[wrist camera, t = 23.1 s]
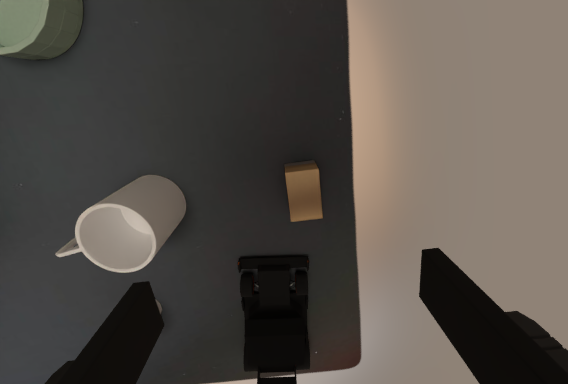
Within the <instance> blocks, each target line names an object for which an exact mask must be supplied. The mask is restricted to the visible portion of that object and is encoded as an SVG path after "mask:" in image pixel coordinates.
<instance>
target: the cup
mask: <svg viewBox="0 0 568 384" xmlns="http://www.w3.org/2000/svg"><path fill="white" fill-rule="evenodd" d="M185 212H186V200H185V197H184V195H183V193H182V191H181V190H180V188H179V187H178V186H177V185H176V184H175V183H173V182H172V181H171V180H169V179H167V178H165V177H162V176H158V175H146V176H142V177H140V178H137V179H136V180H134V181H132V182H131V183H129V184H128V185H126V186H124V187H123V188H121V189H119V190H118V191H116V192H114V193H113V194H111V195H110V196H108V197H106V198H105V199H103V200H101V201H100V202H98V203H96V204H95V205H93V206H92V207H90V208H88V209H87V210H86V211H84V212H83V213H82V214H81V216H80V217H79V219H78V221H77V223H76V228H75V236H76V237H75V238H74V239H72V240H71V241H70V242H68V243H67V244H66V245H65V246H64V247H62V248H61V249H60V250H59V251H58V252H56V253H55V254H56V255H57V257H63V256H66V255H70V254H74V253H77V252H81V251H82V252H83V253H84V255H85V256H86V257H87V258H88V259H89V260H90V261H92V262H93V263H95V264H96V265H98V266H100V267H102V268H104V269H106V270H110V271H113V272H120V273H127V272H133V271H136V270H139V269H141V268H143V267H145V266H146V265H147V264H148V263H149V262H150V261H151V260H152V259H153V257H154V256H155V255H156V253H157V252H158V251H159V249H160V248H161V247H162V245H163V244H164V243H165V241H166V240H167V239H168V237H169V236H170V235H171V233H172V232H173V231H174V229H175V228H176V227H177V226H178V224H179V223H180V222H181V220H182V219H183V217H184V215H185ZM76 243H78V246H76V247H73V246H74V245H75V244H76ZM72 247H73V248H72Z"/></svg>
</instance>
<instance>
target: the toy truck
mask: <svg viewBox="0 0 568 384" xmlns="http://www.w3.org/2000/svg"><path fill="white" fill-rule="evenodd" d="M298 267H307V271H308V269H309V260H308V256H305V257H272V258H239V261H238V270H239V273H240V272H241V269H258V281H257V282H258V285H256V284H255V285H256V286H257V287H259V293H258V294H253V292H254V287H255V286H254V277H253V274H242V275H241V281H240V293H241V297H242V301H241V303H242V308H243V311H244V315H245V346H244V371H245V372H246V371H258V378H257V384H297V382H296V370H304V369H310V350H309V342H308V332H307V309H308V296H307V294H308V280H307V273H306V272H296V273H295V281H293V282H294V283H295V287H296V292H290V289H291V288H290V286H291V285H293V284H294V283H292V284H290V275H289V268H298ZM291 281H292V280H291ZM255 283H256V282H255ZM293 288H294V287H293ZM255 289H256V288H255ZM257 290H258V289H257ZM305 336H306V338H305ZM267 372H295V377H273V378H260V373H267Z"/></svg>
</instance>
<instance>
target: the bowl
mask: <svg viewBox="0 0 568 384" xmlns="http://www.w3.org/2000/svg"><path fill="white" fill-rule="evenodd" d="M82 21H83V1H82V0H0V56H7V57H15V58H22V59H30V60H46V59H51V58H54V57H57V56H59V55H61V54H62V53H64V52H66V51H67V50H68V49H69V48H70V47H71V46H72V45H73V43H74V42H75V40H76V39H77V37H78V35H79V32H80V30H81V26H82Z"/></svg>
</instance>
